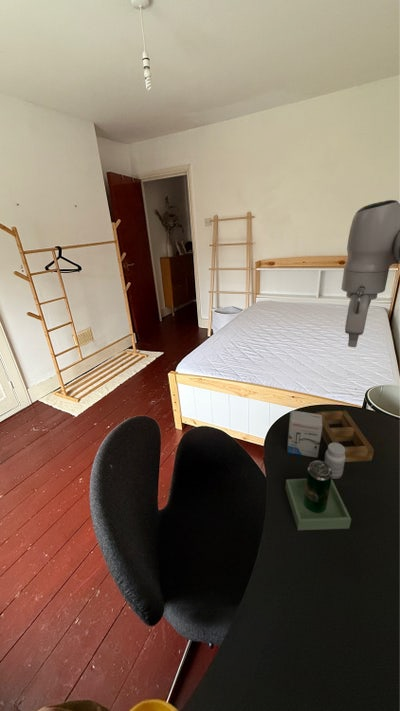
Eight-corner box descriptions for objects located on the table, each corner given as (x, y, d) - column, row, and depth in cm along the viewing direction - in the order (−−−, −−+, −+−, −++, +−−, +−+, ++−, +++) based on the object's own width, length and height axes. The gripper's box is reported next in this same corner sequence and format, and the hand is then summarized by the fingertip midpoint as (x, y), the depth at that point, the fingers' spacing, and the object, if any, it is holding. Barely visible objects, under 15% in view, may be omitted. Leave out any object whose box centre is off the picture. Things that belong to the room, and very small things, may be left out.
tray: (329, 486, 75) (331, 477, 74) (349, 528, 65) (351, 519, 64) (285, 487, 76) (285, 479, 74) (297, 530, 66) (298, 521, 64)
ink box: (286, 452, 86) (289, 420, 81) (287, 441, 90) (290, 409, 85) (318, 458, 84) (322, 425, 78) (318, 446, 88) (322, 414, 83)
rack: (344, 420, 97) (345, 410, 96) (371, 460, 81) (374, 449, 80) (314, 421, 98) (315, 411, 96) (336, 462, 82) (338, 451, 80)
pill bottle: (346, 475, 78) (351, 451, 74) (332, 481, 76) (336, 457, 73) (332, 462, 82) (336, 439, 78) (319, 468, 80) (322, 444, 77)
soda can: (299, 500, 72) (303, 463, 66) (316, 492, 73) (321, 456, 68) (313, 518, 67) (318, 480, 62) (331, 509, 69) (338, 472, 63)
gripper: (378, 294, 58) (365, 358, 64) (380, 273, 73) (370, 326, 79) (342, 292, 60) (334, 353, 66) (352, 273, 76) (344, 323, 82)
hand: (354, 338), depth 73 cm, fingers open, 8 cm apart
